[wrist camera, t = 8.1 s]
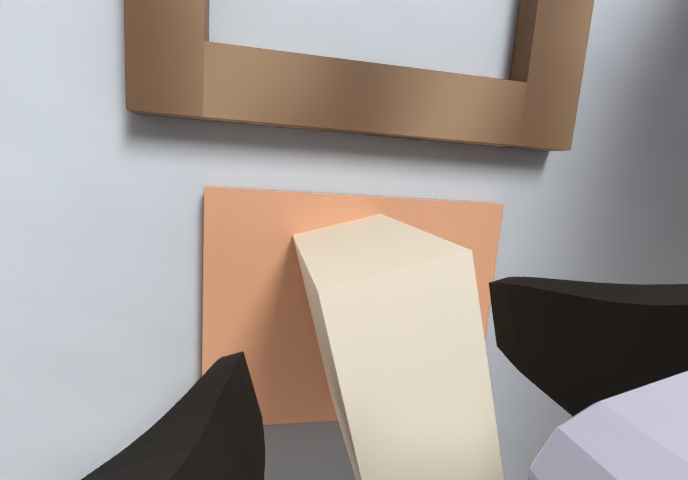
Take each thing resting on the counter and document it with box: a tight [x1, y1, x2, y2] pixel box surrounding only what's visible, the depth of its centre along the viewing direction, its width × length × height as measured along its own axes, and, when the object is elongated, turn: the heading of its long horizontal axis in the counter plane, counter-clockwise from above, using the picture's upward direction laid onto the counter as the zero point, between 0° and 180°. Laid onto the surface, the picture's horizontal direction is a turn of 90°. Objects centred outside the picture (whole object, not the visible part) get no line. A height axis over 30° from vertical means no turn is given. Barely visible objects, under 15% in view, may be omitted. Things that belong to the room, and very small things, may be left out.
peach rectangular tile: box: [202, 186, 504, 425], centre depth 14 cm, size 10×8×1 cm
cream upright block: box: [293, 214, 504, 480], centre depth 11 cm, size 3×6×6 cm, turn 11°
